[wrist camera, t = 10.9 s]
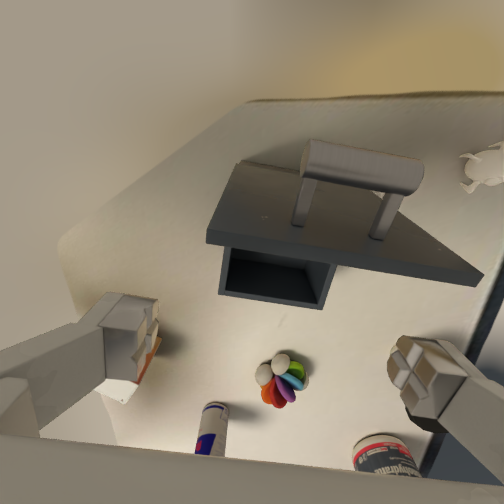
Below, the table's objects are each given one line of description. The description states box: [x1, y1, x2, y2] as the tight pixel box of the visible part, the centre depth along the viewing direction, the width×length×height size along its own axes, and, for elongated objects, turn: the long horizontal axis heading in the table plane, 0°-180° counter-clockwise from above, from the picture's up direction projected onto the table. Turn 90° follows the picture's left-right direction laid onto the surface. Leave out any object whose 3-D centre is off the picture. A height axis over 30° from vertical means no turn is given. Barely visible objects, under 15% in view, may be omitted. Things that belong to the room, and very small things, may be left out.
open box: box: [218, 161, 337, 310], centre depth 35 cm, size 16×14×11 cm
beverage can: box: [195, 403, 229, 457], centre depth 50 cm, size 6×6×15 cm
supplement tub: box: [352, 435, 422, 478], centre depth 53 cm, size 13×13×18 cm
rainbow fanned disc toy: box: [255, 354, 309, 408], centre depth 49 cm, size 8×10×7 cm
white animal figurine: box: [459, 141, 504, 194], centre depth 33 cm, size 5×5×8 cm
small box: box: [94, 337, 162, 405], centre depth 45 cm, size 8×6×10 cm
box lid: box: [206, 139, 484, 287], centre depth 19 cm, size 16×14×5 cm
